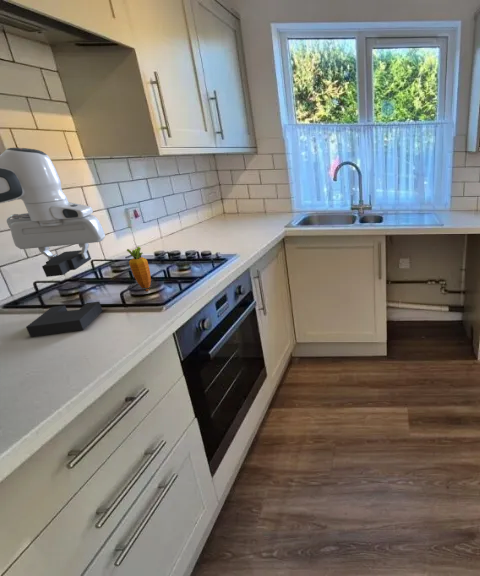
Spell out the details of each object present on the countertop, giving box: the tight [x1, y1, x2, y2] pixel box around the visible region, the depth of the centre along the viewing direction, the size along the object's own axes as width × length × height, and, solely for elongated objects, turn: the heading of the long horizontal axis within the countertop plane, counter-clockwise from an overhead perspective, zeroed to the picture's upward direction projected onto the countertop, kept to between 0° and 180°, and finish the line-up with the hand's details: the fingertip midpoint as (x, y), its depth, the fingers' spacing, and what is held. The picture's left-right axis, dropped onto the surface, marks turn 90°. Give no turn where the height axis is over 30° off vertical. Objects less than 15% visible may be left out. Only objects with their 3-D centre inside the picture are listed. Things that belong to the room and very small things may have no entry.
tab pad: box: [41, 249, 92, 278], centre depth 102 cm, size 6×14×3 cm, turn 16°
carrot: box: [126, 246, 152, 292], centre depth 115 cm, size 5×5×15 cm
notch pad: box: [25, 301, 104, 338], centre depth 98 cm, size 12×12×3 cm
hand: (69, 260), depth 103 cm, fingers closed on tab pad, 6 cm apart
